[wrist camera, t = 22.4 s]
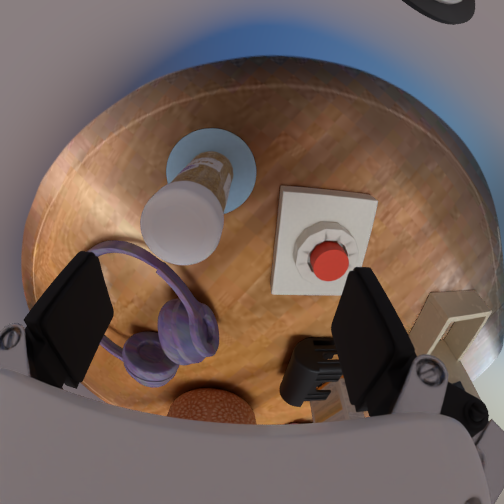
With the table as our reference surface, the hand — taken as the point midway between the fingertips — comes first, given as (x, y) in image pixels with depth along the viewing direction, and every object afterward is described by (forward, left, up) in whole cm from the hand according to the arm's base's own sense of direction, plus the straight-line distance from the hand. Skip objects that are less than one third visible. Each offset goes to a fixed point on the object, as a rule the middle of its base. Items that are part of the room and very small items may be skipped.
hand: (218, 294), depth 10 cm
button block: (+7, +9, -19) cm, 22 cm away
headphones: (+17, -13, -19) cm, 29 cm away
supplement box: (+37, +18, -19) cm, 46 cm away
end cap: (+27, +11, -19) cm, 35 cm away
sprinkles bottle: (0, -3, -19) cm, 19 cm away
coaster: (0, -3, -19) cm, 19 cm away
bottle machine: (+21, +35, -19) cm, 45 cm away
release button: (+7, +9, -15) cm, 19 cm away
